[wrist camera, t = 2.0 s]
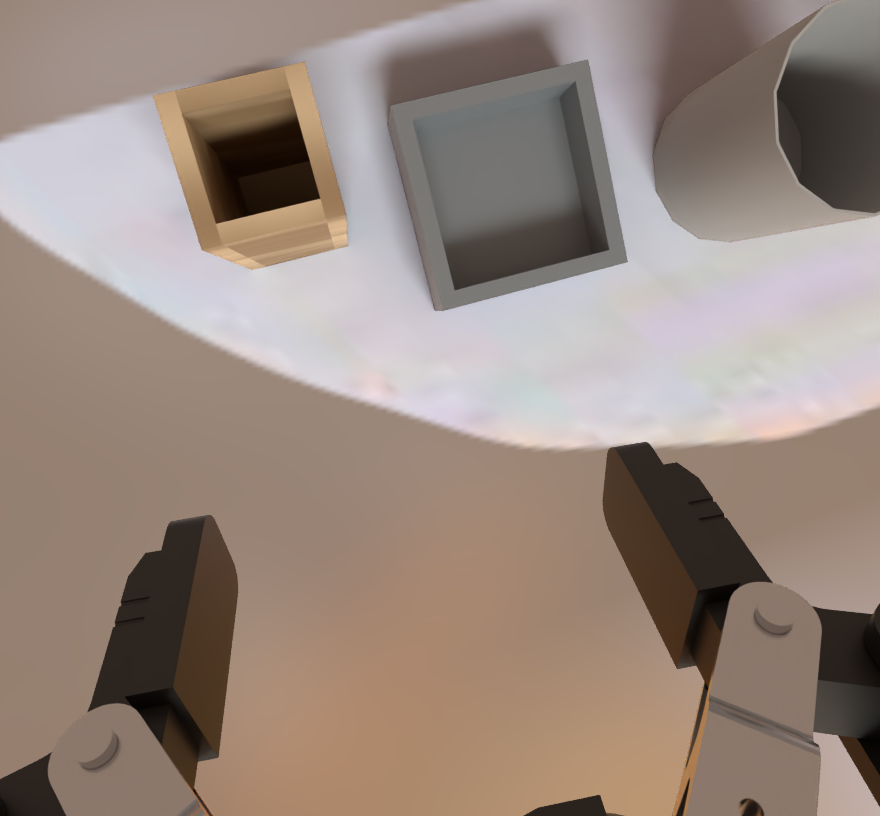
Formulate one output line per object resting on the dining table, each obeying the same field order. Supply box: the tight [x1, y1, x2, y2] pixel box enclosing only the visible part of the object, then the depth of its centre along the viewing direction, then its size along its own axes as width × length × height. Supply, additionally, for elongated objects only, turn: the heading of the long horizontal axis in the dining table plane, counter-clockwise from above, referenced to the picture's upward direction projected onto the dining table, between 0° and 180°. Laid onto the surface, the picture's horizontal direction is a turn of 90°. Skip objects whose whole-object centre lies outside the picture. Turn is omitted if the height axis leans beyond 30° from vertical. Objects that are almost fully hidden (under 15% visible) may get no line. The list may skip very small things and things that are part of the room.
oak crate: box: [153, 62, 348, 270], centre depth 27 cm, size 5×5×11 cm
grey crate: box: [388, 60, 628, 311], centre depth 32 cm, size 10×10×3 cm
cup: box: [653, 0, 880, 242], centre depth 30 cm, size 8×8×10 cm
